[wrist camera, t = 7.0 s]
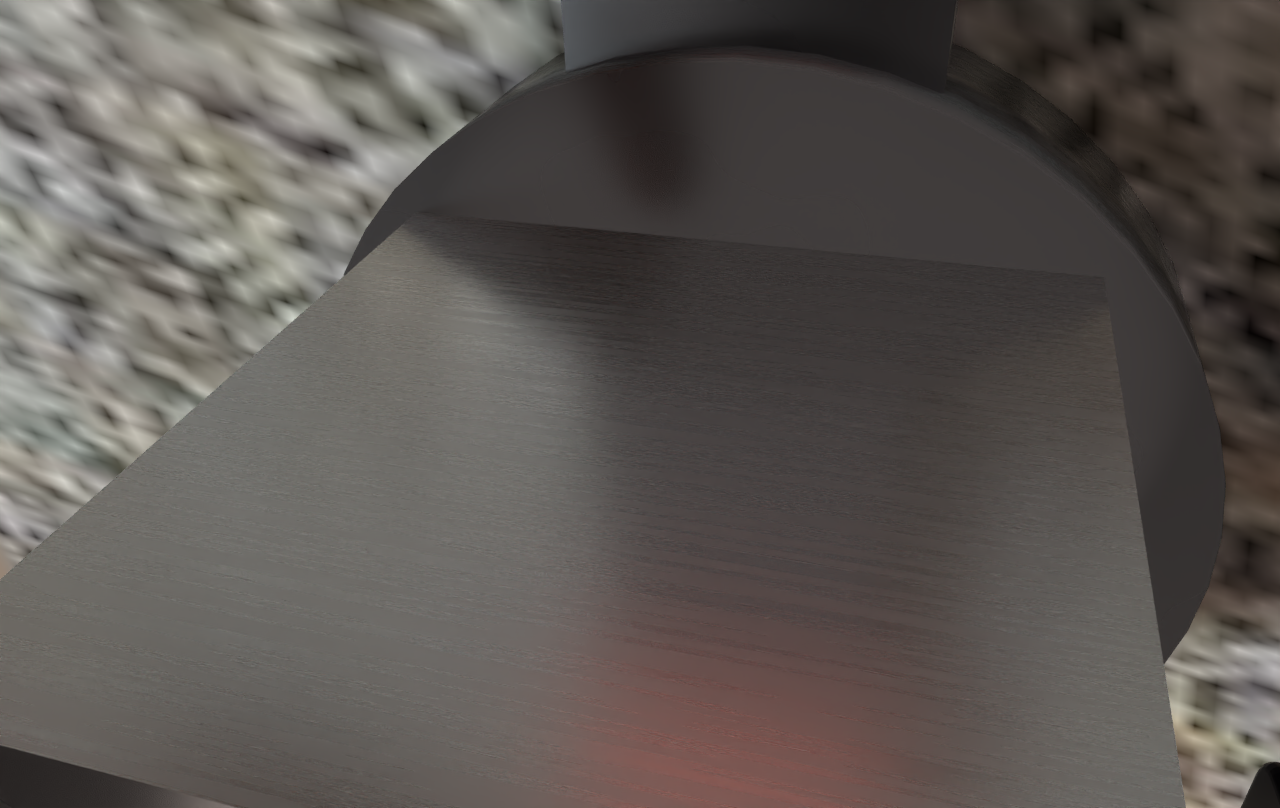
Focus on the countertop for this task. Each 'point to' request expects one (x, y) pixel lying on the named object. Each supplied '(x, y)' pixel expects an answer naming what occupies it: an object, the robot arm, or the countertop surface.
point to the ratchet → (849, 190)
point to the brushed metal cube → (615, 548)
